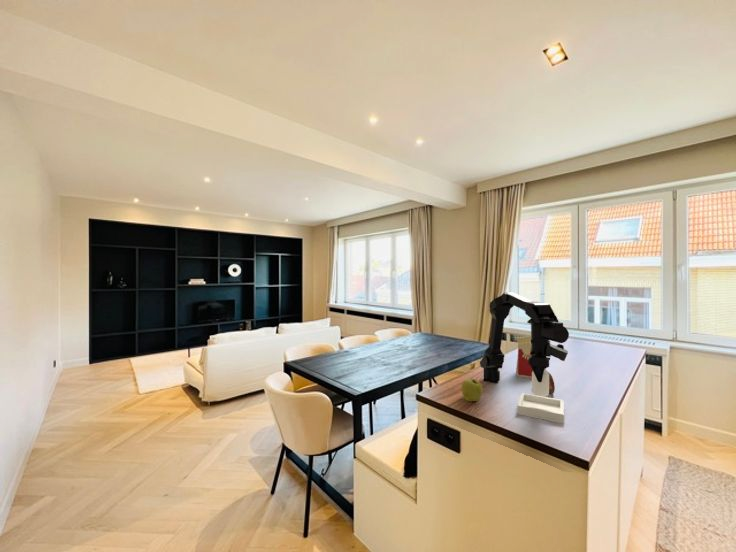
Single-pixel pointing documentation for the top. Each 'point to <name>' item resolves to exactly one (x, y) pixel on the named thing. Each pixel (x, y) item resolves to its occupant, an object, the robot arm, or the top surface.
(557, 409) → the tray
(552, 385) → the tin
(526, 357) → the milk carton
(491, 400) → the top surface
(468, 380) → the apple
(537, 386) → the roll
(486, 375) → the robot arm
